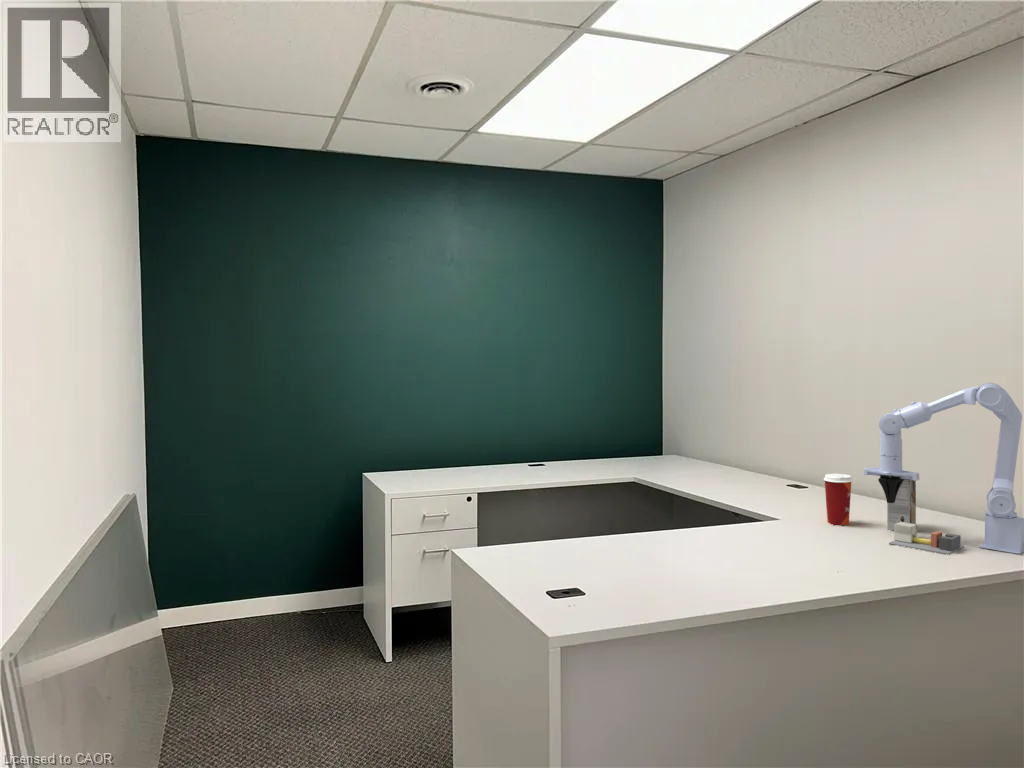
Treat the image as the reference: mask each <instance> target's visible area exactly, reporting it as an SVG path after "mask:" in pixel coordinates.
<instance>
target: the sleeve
mask: <svg viewBox="0 0 1024 768" xmlns="http://www.w3.org/2000/svg"><path fill="white" fill-rule="evenodd" d="M912 537H917V538H918V524H917V523H916V524H912V523H906V522H899V523H896V524H894V531H893V541H894V540H898V541H903V542H909V543H911V542H912Z"/></svg>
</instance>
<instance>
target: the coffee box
mask: <svg viewBox="0 0 1024 768" xmlns="http://www.w3.org/2000/svg"><path fill="white" fill-rule="evenodd" d="M893 476H897V475H893ZM916 484H917V483H916V481H915V480H910V479H904V480H903V482H902V484H901V486H900V488H899V490H898V492H897V495H896V499H895V502H894V503H887V502H886V503H887V506H886V509H887V515H886V516H887V518H886V520H887V521H886V522H887V531H892V530H894V524H896V523H899V522H906V523H912V524H917V507H916V506H917V503H916V502H917V500H916V499H917V494H916V493H917V490H916V489H917V487H916V486H917V485H916Z"/></svg>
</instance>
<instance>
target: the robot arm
mask: <svg viewBox="0 0 1024 768" xmlns="http://www.w3.org/2000/svg"><path fill="white" fill-rule="evenodd" d="M976 402H977V404H979V406H981V407H983V408H985V409H986V410H988V411H990V412H992V413H993V414H994V415H995V416H996V417H997V418H998V419H999V420H1000V427H999V434H998V442H997V450H996V458H995V464H994V465H995V466H994V467H995V468H994V474H993V480H992V486H991V488H990V490H988V493H987V494H986V508H987V510H986V511H984V542H983V543H981V544H979V545H978V547H979V548H981V549H988V550H993V551H1000V552H1006V553H1011V554H1016V555H1017V554H1018V555H1020V554H1022V553H1024V518H1023V517H1019V516H1018V513H1017V512H1015V511H1016V508H1017V507H1016V501H1015V496H1014V482H1015V476H1016V475H1015V474H1016V467H1017V458H1018V453H1019V452H1018V451H1019V443H1020V436H1021V431H1022V430H1021V428H1022V421H1023V415H1022V411H1020V409H1019V408H1018V406H1017V404H1016V403H1015V401H1014V400H1013V398H1012V397H1011V395H1010V394H1009V392H1008V391H1006V389H1004V388H1003V387H1002V386H1001V385H1000V384H998V383H993V382H987V383H985V382H984V383H983V384H981V385H980V386H979V385H974V386H972V387H968V388H963V389H960V390H958V391H956V392H953V393H950V394H949V395H946V396H944V397H941V398H938V399H937V400H936V399H935V400H933V401H931V402H928V403H926V402H923V401H915V400H914V401H912V402H910V405H906V406H904V407H901V408H900V409H898V408H895V409H893V410H892V411H893V412H888V413H885V414H884V415H883V416H882V417H881V418H880V419H879V422H878V428H879V430H880V432H879V436H880V438H879V468H877V467H864V468H863V475H864V476H874V477H875V476H876V477H879V478H878V479H877V481H878V482H879V484H880V486H881V487H882V490H883V492H884V496H885V499H886V503H894V502H895V499H896V495H897V492H898V490H899V488H900V486H901V484H902V482H903V480H904V479H910V480H915V481H920V472H914V471H909V470H903V439H902V429H906V430H907V429H910V428H912V427H915V426H917V425H920V424H921V425H922V424H923V423H925V422H929V421H931V419H932V415H933V414H938V413H940V412H942V411H946V410H949V409H951V408H956V407H958V406H960V405H971V406H976ZM893 475H897V476H893Z"/></svg>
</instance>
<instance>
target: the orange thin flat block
mask: <svg viewBox="0 0 1024 768" xmlns="http://www.w3.org/2000/svg"><path fill="white" fill-rule="evenodd" d="M942 536H943V531H938V530H936V531H934V532H931V533H930V540H931V547H934V548H937V547H939V545H938V543H939V537H942Z"/></svg>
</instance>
